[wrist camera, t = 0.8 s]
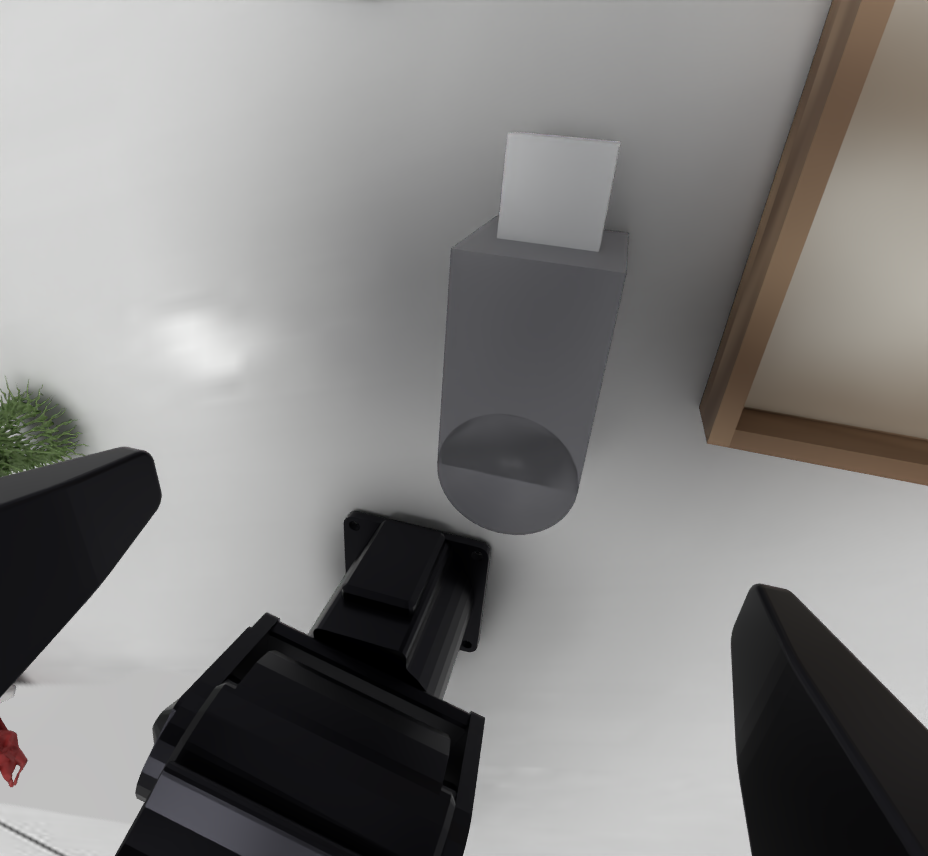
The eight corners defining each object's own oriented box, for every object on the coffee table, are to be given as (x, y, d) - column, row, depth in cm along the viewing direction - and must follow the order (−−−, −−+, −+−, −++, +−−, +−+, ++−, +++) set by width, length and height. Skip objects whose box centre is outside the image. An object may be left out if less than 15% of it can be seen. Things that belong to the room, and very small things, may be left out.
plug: (579, 459, 20) (565, 548, 16) (474, 437, 21) (433, 517, 17) (648, 141, 15) (653, 150, 11) (505, 127, 16) (458, 132, 12)
